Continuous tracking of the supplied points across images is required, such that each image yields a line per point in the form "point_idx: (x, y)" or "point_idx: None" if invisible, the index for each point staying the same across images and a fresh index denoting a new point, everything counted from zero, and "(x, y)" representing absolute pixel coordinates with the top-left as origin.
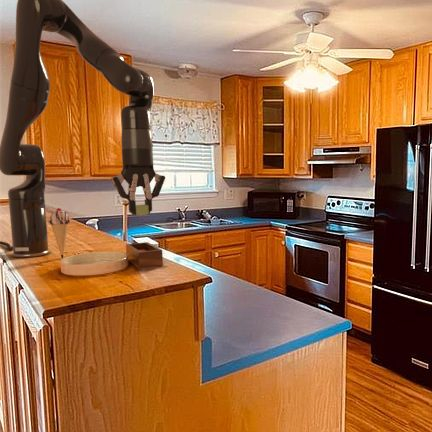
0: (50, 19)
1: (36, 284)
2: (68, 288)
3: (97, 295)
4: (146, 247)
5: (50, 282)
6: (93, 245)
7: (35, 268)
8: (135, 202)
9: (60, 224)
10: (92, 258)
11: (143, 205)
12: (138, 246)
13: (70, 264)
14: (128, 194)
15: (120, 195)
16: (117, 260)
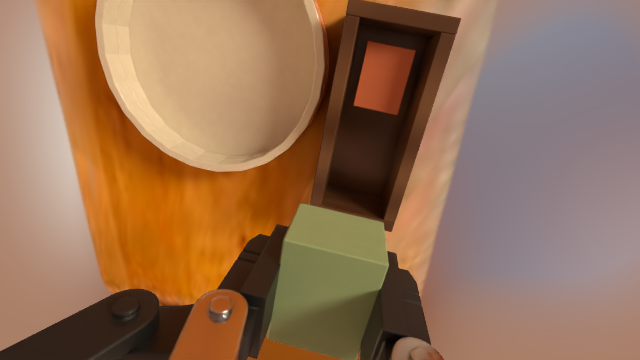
0: None
1: (74, 119)
2: (138, 207)
3: (180, 288)
4: (433, 44)
5: (103, 125)
6: None
7: None
8: (261, 343)
9: None
10: None
11: (328, 339)
12: (402, 26)
13: (124, 109)
14: (181, 353)
15: (98, 319)
16: (255, 164)
